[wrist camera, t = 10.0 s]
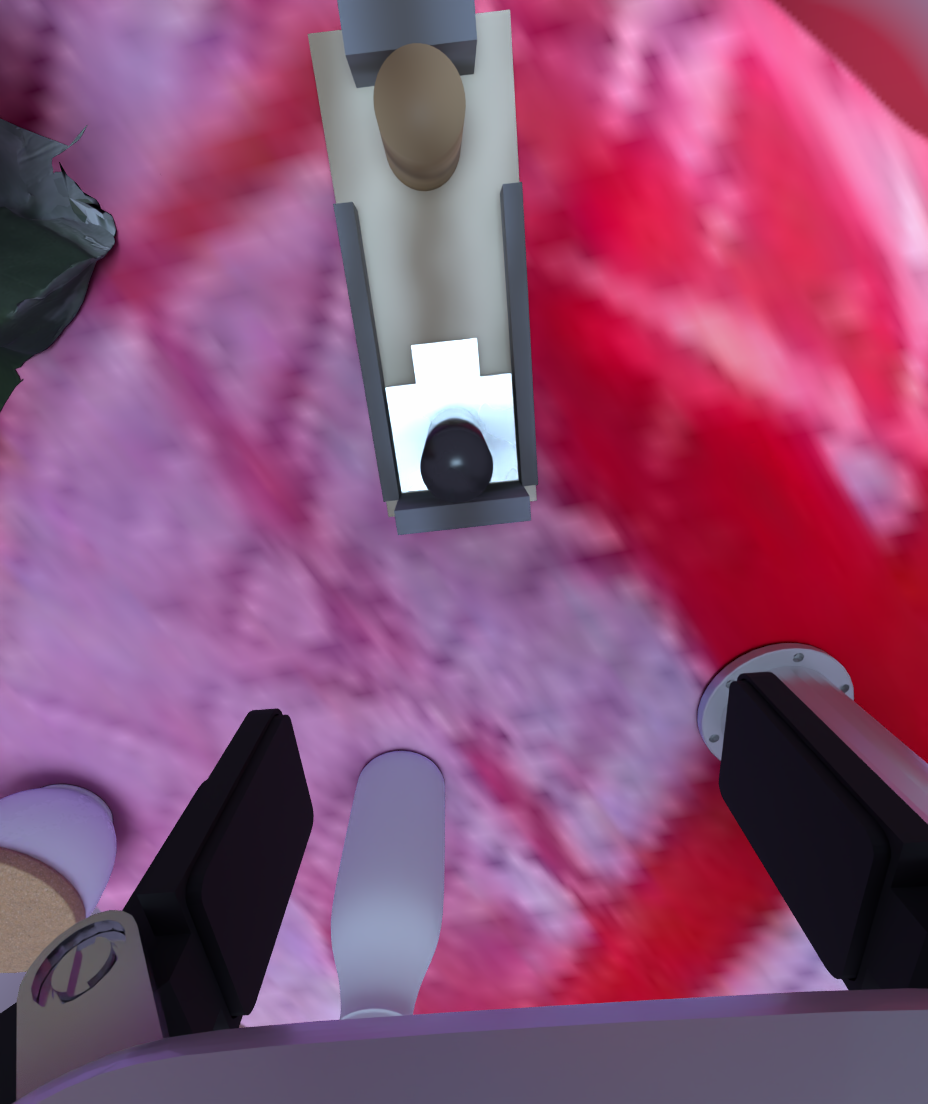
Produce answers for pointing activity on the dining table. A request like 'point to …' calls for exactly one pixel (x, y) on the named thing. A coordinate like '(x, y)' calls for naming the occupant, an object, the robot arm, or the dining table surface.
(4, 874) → the lidded bowl
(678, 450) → the dining table surface
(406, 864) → the milk bottle
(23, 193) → the rose bouquet
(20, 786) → the dining table surface
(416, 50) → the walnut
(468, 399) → the ram
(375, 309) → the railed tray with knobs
